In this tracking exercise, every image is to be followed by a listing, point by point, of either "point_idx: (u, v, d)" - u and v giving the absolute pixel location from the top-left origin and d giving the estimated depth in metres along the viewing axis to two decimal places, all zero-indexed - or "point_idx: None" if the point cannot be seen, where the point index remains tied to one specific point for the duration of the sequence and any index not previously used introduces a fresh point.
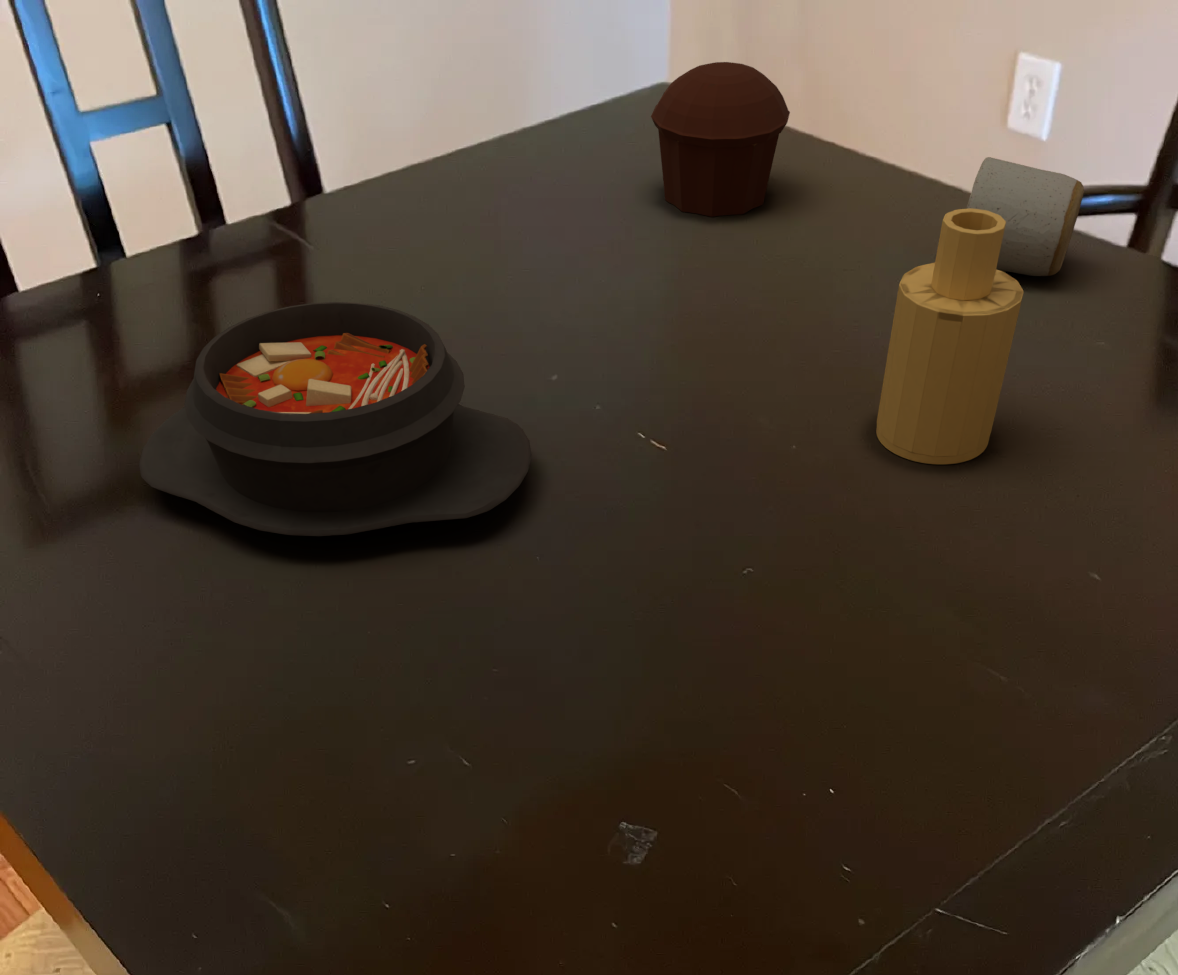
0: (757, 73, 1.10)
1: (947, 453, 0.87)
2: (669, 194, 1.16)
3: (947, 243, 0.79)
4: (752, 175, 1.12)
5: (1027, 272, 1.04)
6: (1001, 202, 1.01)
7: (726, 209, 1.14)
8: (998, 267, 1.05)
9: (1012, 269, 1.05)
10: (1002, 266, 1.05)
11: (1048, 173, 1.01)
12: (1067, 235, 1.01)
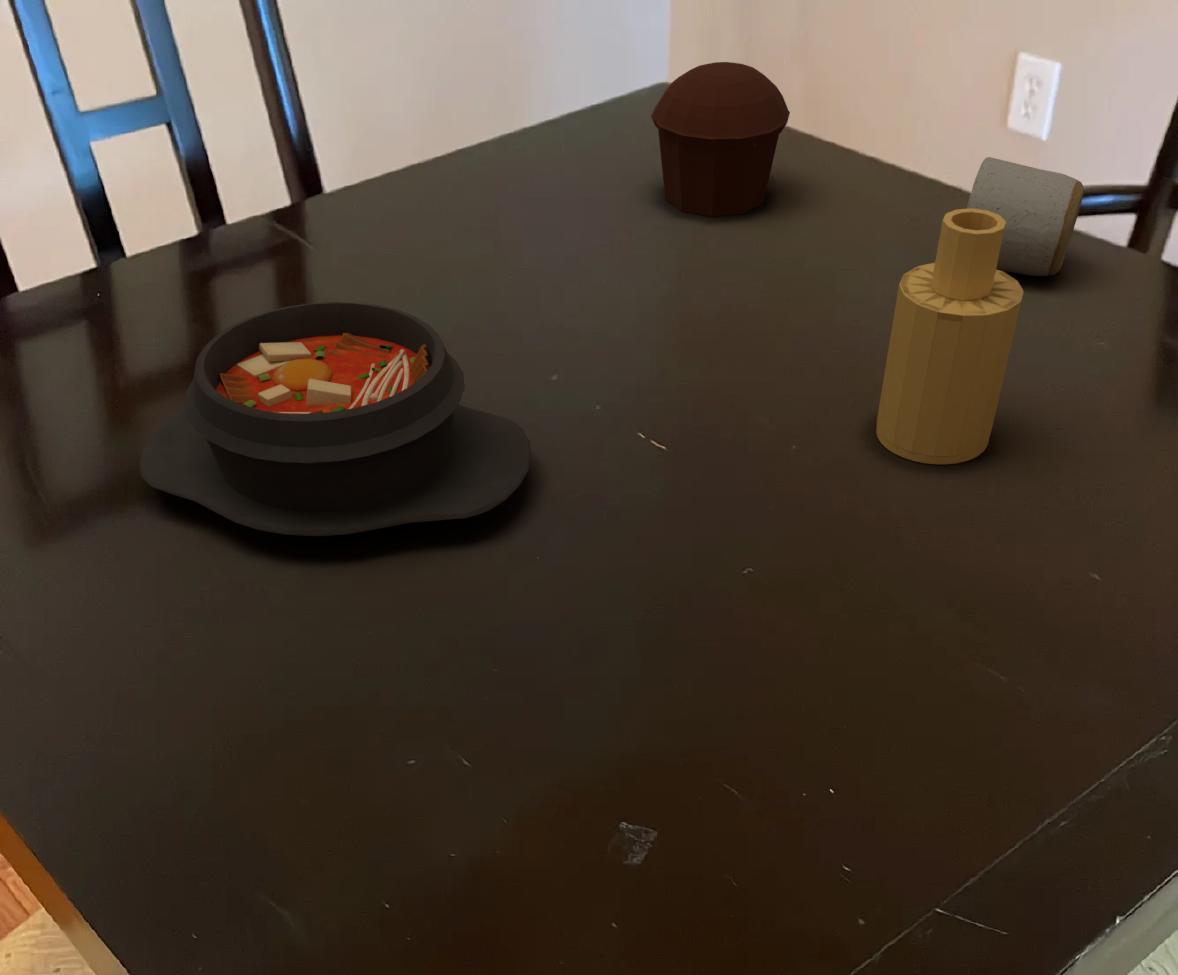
0: (757, 73, 1.10)
1: (947, 453, 0.87)
2: (669, 194, 1.16)
3: (947, 243, 0.79)
4: (752, 175, 1.12)
5: (1027, 272, 1.04)
6: (1001, 202, 1.01)
7: (726, 209, 1.14)
8: (998, 267, 1.05)
9: (1012, 269, 1.05)
10: (1002, 266, 1.05)
11: (1048, 173, 1.01)
12: (1067, 235, 1.01)
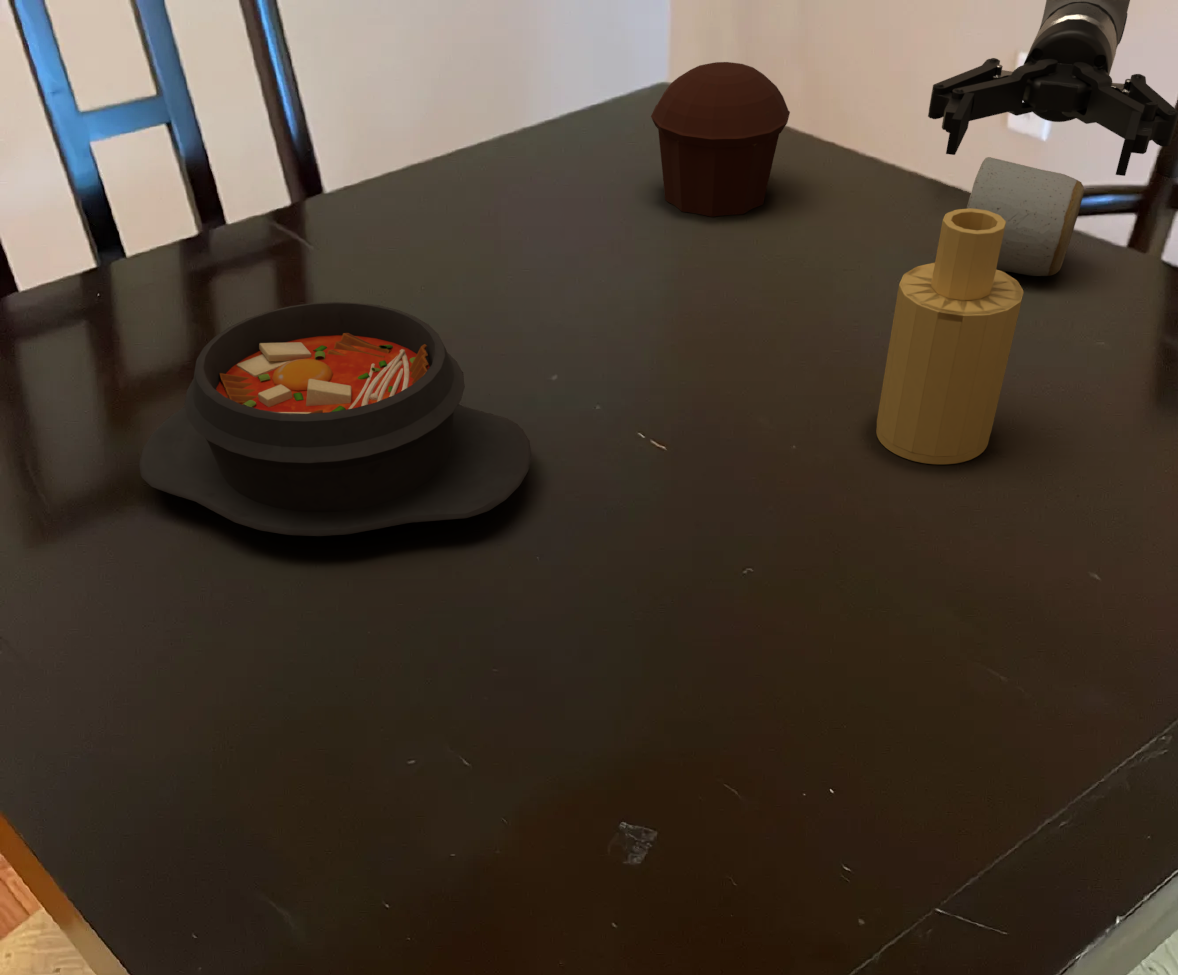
0: (757, 73, 1.10)
1: (947, 453, 0.87)
2: (669, 194, 1.16)
3: (947, 243, 0.79)
4: (752, 175, 1.12)
5: (1027, 272, 1.04)
6: (1001, 202, 1.01)
7: (726, 209, 1.14)
8: (998, 267, 1.05)
9: (1012, 269, 1.05)
10: (1002, 266, 1.05)
11: (1048, 173, 1.01)
12: (1067, 235, 1.01)
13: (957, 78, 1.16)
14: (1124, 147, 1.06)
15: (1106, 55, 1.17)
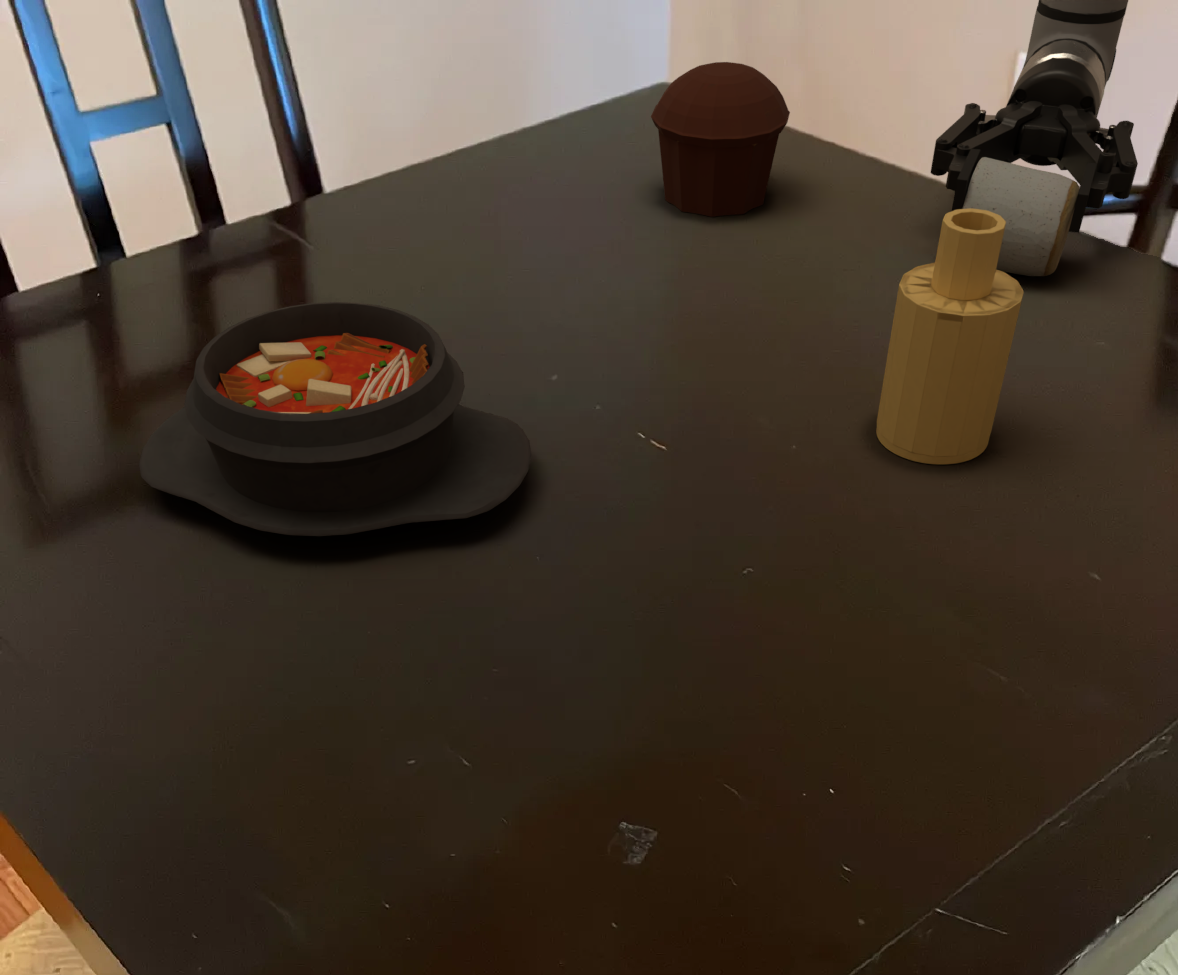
0: (757, 73, 1.10)
1: (947, 453, 0.87)
2: (669, 194, 1.16)
3: (947, 243, 0.79)
4: (752, 175, 1.12)
5: (1023, 272, 1.04)
6: (997, 202, 1.01)
7: (726, 209, 1.14)
8: None
9: (1008, 269, 1.05)
10: (998, 266, 1.05)
11: (1044, 173, 1.01)
12: (1063, 235, 1.01)
13: (953, 130, 1.08)
14: (1077, 203, 0.99)
15: (1093, 97, 1.11)
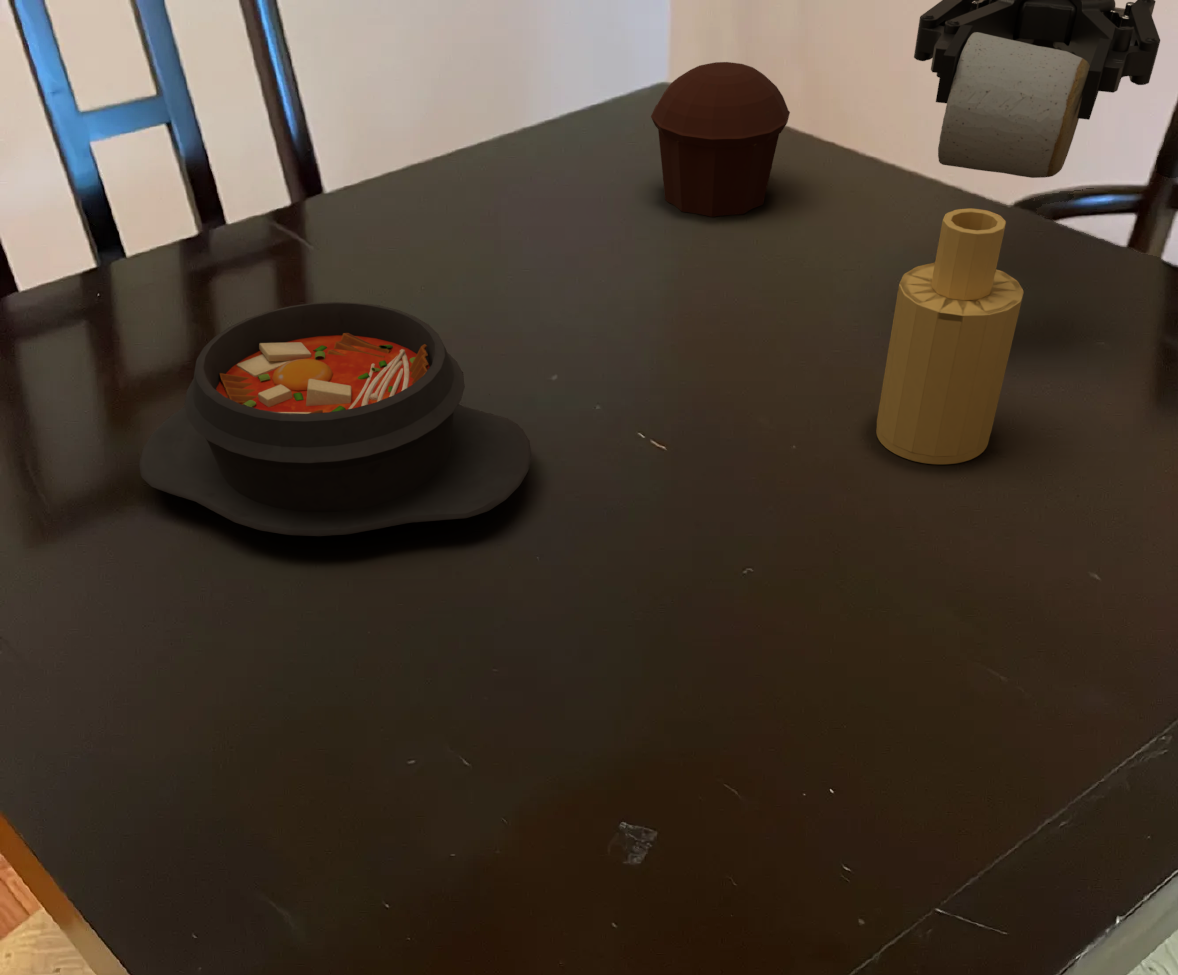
0: (757, 73, 1.10)
1: (947, 453, 0.87)
2: (669, 194, 1.16)
3: (947, 243, 0.79)
4: (752, 175, 1.12)
5: (1022, 172, 0.88)
6: (991, 84, 0.84)
7: (726, 209, 1.14)
8: (988, 166, 0.88)
9: (1004, 168, 0.88)
10: (992, 165, 0.88)
11: (1048, 49, 0.84)
12: (1070, 124, 0.84)
13: (941, 7, 0.91)
14: (1088, 81, 0.82)
15: None
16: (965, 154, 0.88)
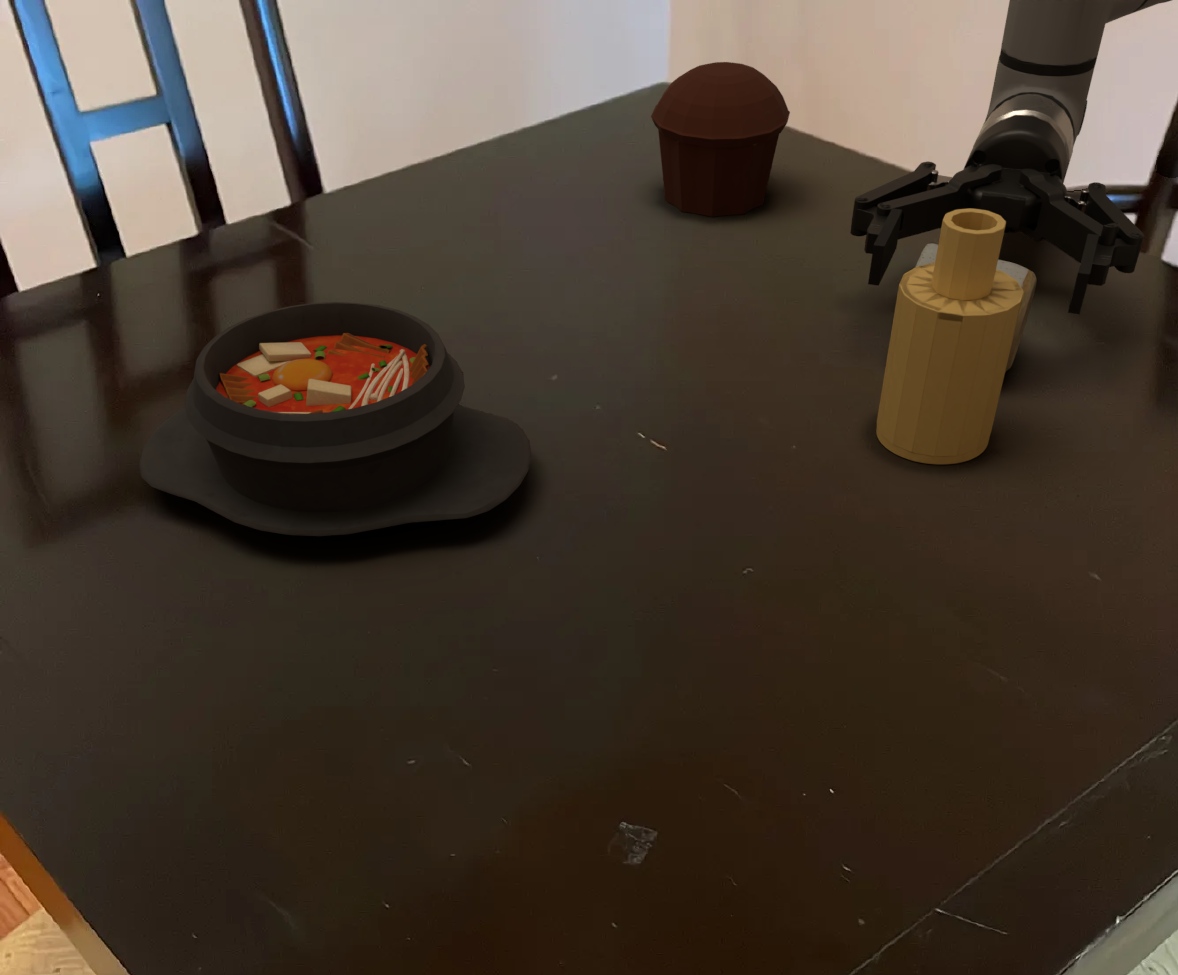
0: (757, 73, 1.10)
1: (947, 453, 0.87)
2: (669, 194, 1.16)
3: (947, 243, 0.79)
4: (752, 175, 1.12)
5: None
6: None
7: (726, 209, 1.14)
8: None
9: None
10: None
11: None
12: (1017, 332, 0.90)
13: (884, 189, 0.98)
14: (1077, 282, 0.89)
15: (1060, 159, 1.00)
16: None
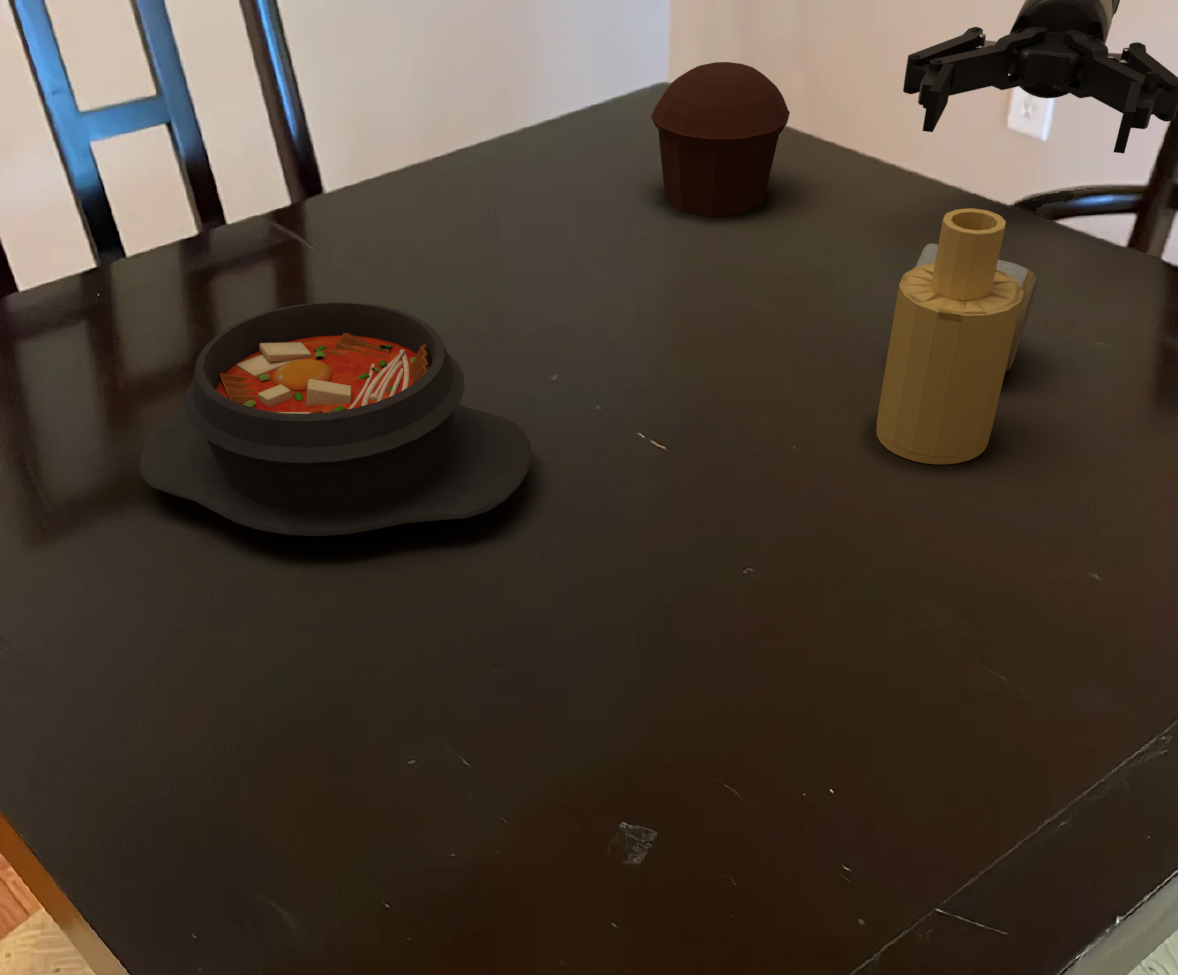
0: (757, 73, 1.10)
1: (947, 453, 0.87)
2: (669, 194, 1.16)
3: (947, 243, 0.79)
4: (752, 175, 1.12)
5: None
6: None
7: (726, 209, 1.14)
8: None
9: None
10: None
11: None
12: (1017, 332, 0.90)
13: (935, 48, 1.04)
14: (1123, 120, 0.94)
15: (1101, 22, 1.05)
16: None
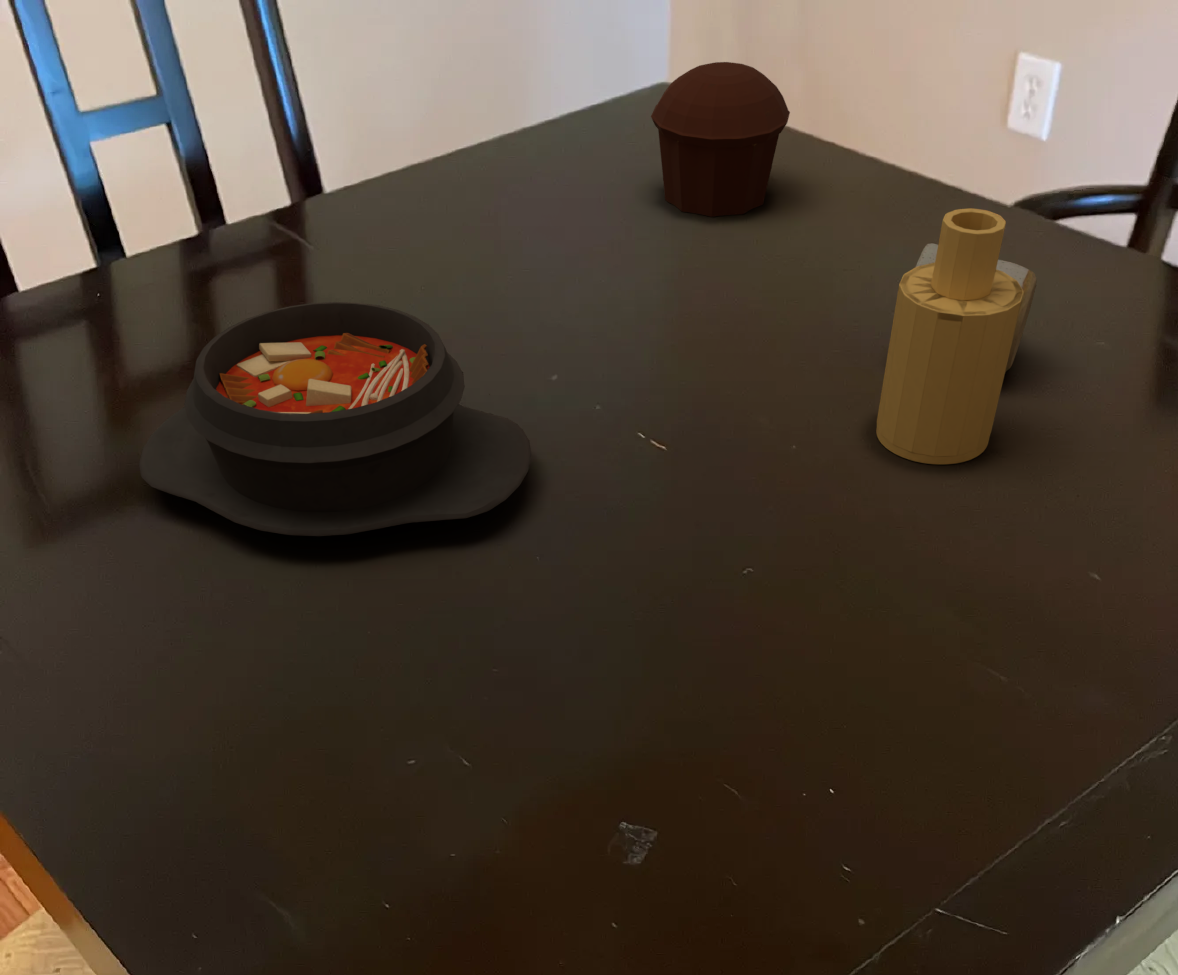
0: (757, 73, 1.10)
1: (947, 453, 0.87)
2: (669, 194, 1.16)
3: (947, 243, 0.79)
4: (752, 175, 1.12)
5: None
6: None
7: (726, 209, 1.14)
8: None
9: None
10: None
11: None
12: (1017, 332, 0.90)
13: None
14: None
15: None
16: None
